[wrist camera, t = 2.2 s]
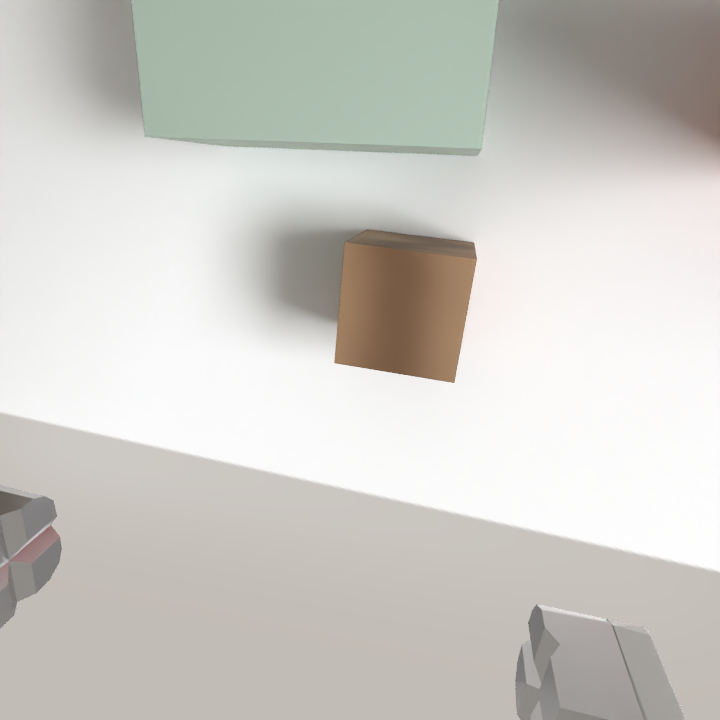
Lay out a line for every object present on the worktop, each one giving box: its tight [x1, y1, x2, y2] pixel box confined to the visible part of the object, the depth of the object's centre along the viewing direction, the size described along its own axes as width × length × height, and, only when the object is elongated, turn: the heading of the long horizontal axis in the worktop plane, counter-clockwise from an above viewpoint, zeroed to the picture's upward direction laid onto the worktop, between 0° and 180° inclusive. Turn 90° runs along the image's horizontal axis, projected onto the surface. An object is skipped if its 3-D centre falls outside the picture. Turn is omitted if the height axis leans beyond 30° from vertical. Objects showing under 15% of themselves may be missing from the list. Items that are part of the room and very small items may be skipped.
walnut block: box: [335, 230, 477, 383], centre depth 26 cm, size 6×6×6 cm
